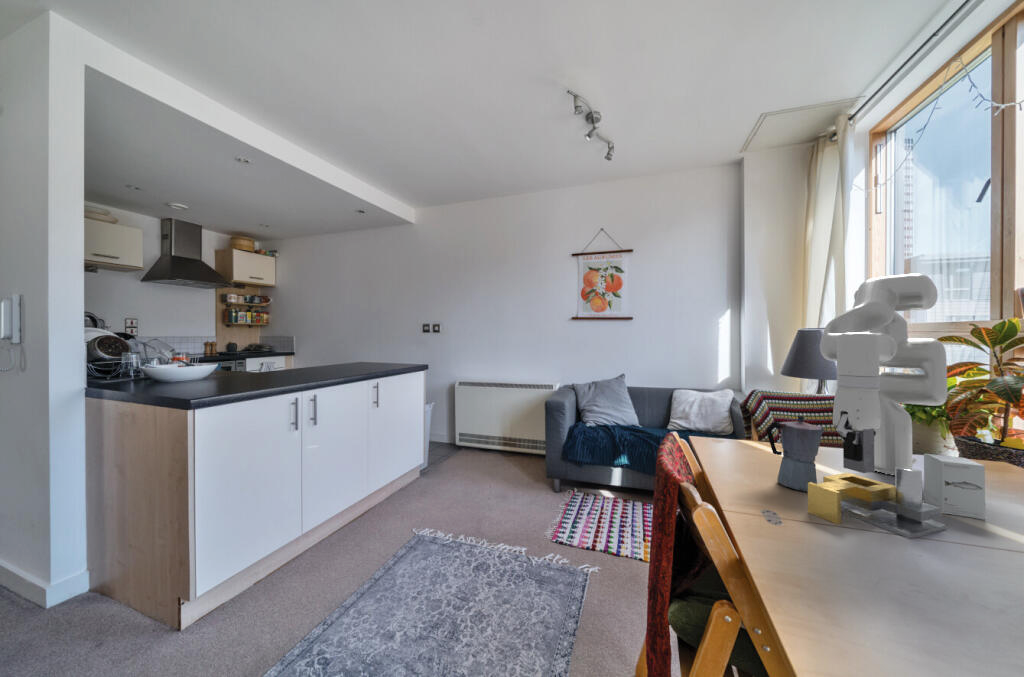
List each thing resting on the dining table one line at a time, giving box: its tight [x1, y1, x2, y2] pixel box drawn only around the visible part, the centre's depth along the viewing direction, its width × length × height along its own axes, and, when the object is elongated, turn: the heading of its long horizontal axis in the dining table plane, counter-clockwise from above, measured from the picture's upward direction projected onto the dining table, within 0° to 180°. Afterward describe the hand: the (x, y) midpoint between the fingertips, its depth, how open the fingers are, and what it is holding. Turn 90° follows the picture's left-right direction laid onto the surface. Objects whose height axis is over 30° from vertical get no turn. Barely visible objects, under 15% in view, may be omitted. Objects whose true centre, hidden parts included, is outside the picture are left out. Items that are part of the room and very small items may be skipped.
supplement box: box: [923, 453, 986, 521], centre depth 87 cm, size 7×7×13 cm
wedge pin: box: [842, 427, 876, 474], centre depth 87 cm, size 4×4×11 cm
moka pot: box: [765, 415, 826, 493], centre depth 101 cm, size 10×15×20 cm, turn 89°
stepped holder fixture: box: [807, 467, 947, 539], centre depth 83 cm, size 21×16×12 cm
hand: (858, 458), depth 87 cm, fingers closed on wedge pin, 4 cm apart
